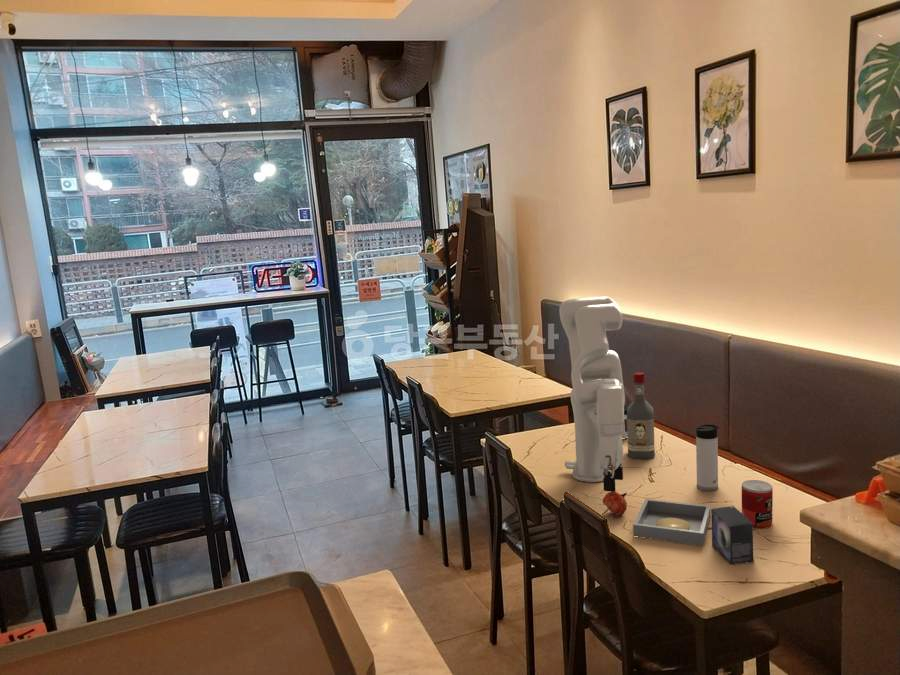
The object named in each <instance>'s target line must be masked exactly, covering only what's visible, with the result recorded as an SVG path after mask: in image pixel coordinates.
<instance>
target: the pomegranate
mask: <svg viewBox="0 0 900 675" xmlns="http://www.w3.org/2000/svg"><path fill="white" fill-rule="evenodd" d="M626 495H628V493H627V492H624V493H622V494H621V493H619V492H617V491H615V492H610V491H608V492H607V493H606V494H605V495H604V497H603V498H602V504H604V505H605V506H606V508H607V509H606V510H605V511H603V513H602V516H603V515H605V514H606V513H607V512H608V511H609V512H611V513H612V515H613V516H615V517H617V518H618V517H621V516H623V515H624V514H625V513H626V511H627V508H628V502H627V500H626V499H625V498H626Z"/></svg>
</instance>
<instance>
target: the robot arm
mask: <svg viewBox="0 0 900 675" xmlns="http://www.w3.org/2000/svg"><path fill="white" fill-rule="evenodd" d="M558 310H559V318H560V323H561V325H562V327H563V330H564V332H565V335H566V337H567V339H568V344H569V345H568V346H569V355H570V362H571V376H570V378H571V379H570V380H571V384H572V386H571V387H572V389H571V391H570V403H571V406H572V412H573V421H574V438H575V456H576V457H575V458H576V459H575V460H574V461H571V460H565V461H564V467H565V468H566V469H568V470H572V472H571V474H572V477H573V479H575V480H577V481H579V480H580V482H583V481H585V482H586V483H599V482H603V492H616V481H617V480H619V481H622V480H623V479H624V474H623V473H624V470H623V460H624V445H623V439H622V434H624V433H625V425H624V405H625V404H626V394H625V387H624V378H623V371H622V364H621V363H622V362H621V359H620V356H619V354H618V353H617V351H615V350H612V349H610V345H609V340H608V336H607V332H606V331H618V330H620V329H621V327H622V325H623V320H624V318H623V313H622V311H621V307H620V306H619V305H618V303H617V302H616V301H615V300H614V299H613V298H612V297H610V296H591V297H577V298H576V297H575V298H571V299H566V300H565V301H563V302H562V303H561V304H560V306H559V309H558ZM585 482H584V483H585Z"/></svg>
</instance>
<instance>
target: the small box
mask: <svg viewBox="0 0 900 675" xmlns="http://www.w3.org/2000/svg"><path fill="white" fill-rule="evenodd" d="M710 520H711V546H712V547H713V548H714V549H715V550H716V551H717V552H718V553H719V554H720V555H721V556H722V558H724V559H725V561H727V562H728V564H729V565H736V564H735V563H740V564H746V562H748V563H753V562H754V561H755V560H754V528H753V522H751V521H750V520H749V519H748V518H747V517H745V516H744V515H743V514H742V511H740V510H739V509H737V508H736V507H735V506H733V505H731V506H722V507H721V506H720V507H716V508H711V518H710Z"/></svg>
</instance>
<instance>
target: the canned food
mask: <svg viewBox="0 0 900 675" xmlns="http://www.w3.org/2000/svg"><path fill="white" fill-rule="evenodd" d="M773 499H774V498H773V485H772V484H771V483H769V482H768V481H763V480H759V479H750V480H749V479H748V480H744V481H743V482H742V483H741V513H742V514H743V515H744V516H745V517H747V518H748V519H749V520H750V521H751V522H753V529H757V530H758V529H760V530H761V529H763V528H764V529H767V528H768V529H769V528H770V527H771V526H772V524H773V506H774V505H773V501H774V500H773Z"/></svg>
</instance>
